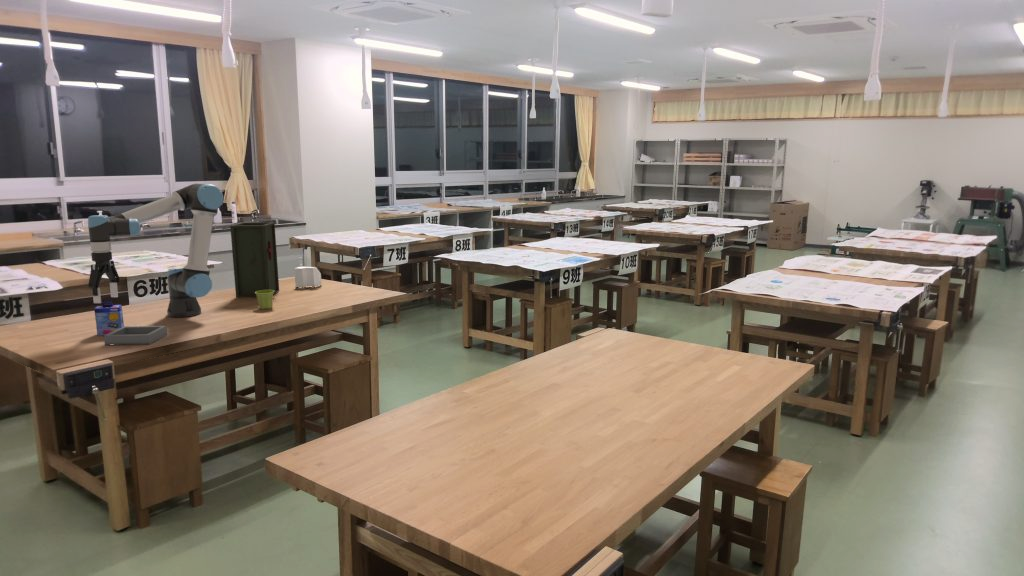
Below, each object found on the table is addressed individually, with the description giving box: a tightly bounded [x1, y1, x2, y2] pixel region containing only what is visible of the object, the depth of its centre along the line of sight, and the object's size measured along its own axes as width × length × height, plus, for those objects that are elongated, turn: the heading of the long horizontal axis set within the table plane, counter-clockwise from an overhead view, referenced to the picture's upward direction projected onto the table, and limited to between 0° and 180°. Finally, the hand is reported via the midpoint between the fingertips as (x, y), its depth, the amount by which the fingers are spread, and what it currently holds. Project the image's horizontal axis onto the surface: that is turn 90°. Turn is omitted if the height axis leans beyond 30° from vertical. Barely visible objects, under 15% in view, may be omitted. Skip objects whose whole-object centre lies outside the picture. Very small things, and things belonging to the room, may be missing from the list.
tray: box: [103, 325, 168, 346], centre depth 283 cm, size 16×18×4 cm
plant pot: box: [255, 290, 275, 310], centre depth 344 cm, size 9×9×9 cm
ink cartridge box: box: [93, 301, 125, 336], centre depth 293 cm, size 10×6×14 cm, turn 111°
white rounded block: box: [293, 266, 322, 288], centre depth 403 cm, size 11×11×12 cm
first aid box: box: [229, 222, 280, 298], centre depth 377 cm, size 18×18×40 cm
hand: (106, 300), depth 291 cm, fingers open, 13 cm apart
